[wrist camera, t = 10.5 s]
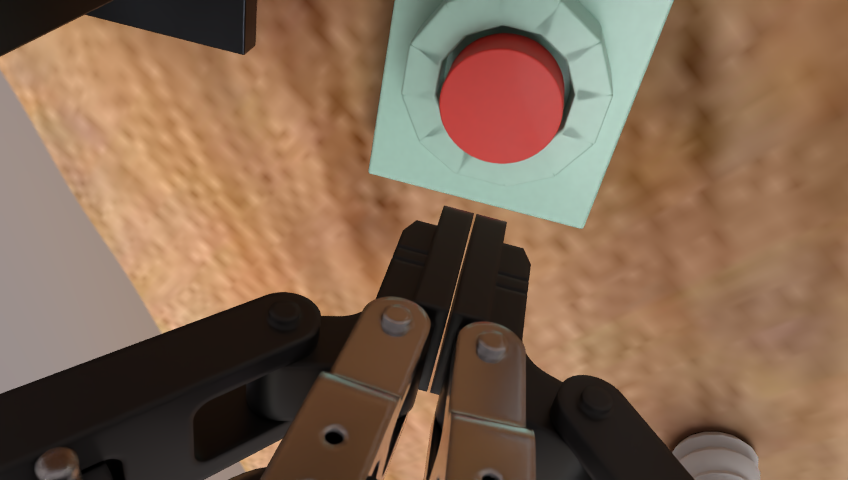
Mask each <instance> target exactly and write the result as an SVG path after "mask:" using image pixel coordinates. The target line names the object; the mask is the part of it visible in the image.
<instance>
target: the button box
mask: <svg viewBox="0 0 848 480" xmlns="http://www.w3.org/2000/svg"><path fill="white" fill-rule="evenodd" d="M673 1H674V0H394V7H393V13H392V20H391V27H390V33H389V40H388V46H387V53H386V59H385V66H384V73H383V79H382V86H381V92H380V99H379V105H378V112H377V119H376V125H375V132H374V138H373V145H372V151H371V158H370V165H369V173H370V174H374V175H378V176H382V177H385V178H389V179H393V180H397V181H401V182H404V183H408V184H412V185H416V186H420V187H424V188H427V189H431V190H435V191H439V192H443V193H446V194H450V195H454V196H458V197H462V198H466V199H469V200H473V201H477V202H481V203H485V204H488V205H492V206H496V207H500V208H504V209H508V210H511V211H515V212H519V213H523V214H527V215H530V216H534V217H538V218H542V219H546V220H550V221H553V222H557V223H561V224H565V225H569V226H572V227H576V228H580V229H582V228H583V227H584V225H585V223H586V220H587V218H588V215H589V213H590V210H591V208H592V205H593V203H594V200H595V198H596V195H597V193H598V190H599V187H600V185H601V182H602V180H603V177H604V175H605V172H606V170H607V167H608V165H609V162H610V160H611V157H612V155H613V152H614V150H615V147H616V145H617V142H618V140H619V137H620V135H621V132H622V129H623V127H624V124H625V122H626V119H627V117H628V114H629V112H630V109H631V107H632V104H633V102H634V99H635V97H636V94H637V92H638V89H639V87H640V84H641V82H642V79H643V77H644V74H645V72H646V69H647V66H648V64H649V61H650V59H651V56H652V54H653V51H654V49H655V46H656V44H657V41H658V39H659V36H660V34H661V31H662V29H663V26H664V24H665V21H666V19H667V16H668V14H669V11H670V9H671V6H672V3H673ZM497 33H513V34H518V35H522V36H525V37H528V38H530V39H532V40H534V41H536V42H538V43H539V44H541V45H542V46H543V47H544V48H546V49H547V50H548V51H549V52H550V53H551V55H552V56H553V57H554V58H555V60H556V61H557V63H558V65H559V67H560V69H561V72H562V75H563V80H564V91H565V92H564V106H563V116H562V120H561V124H560V126H559V129H558V131H557V133H556V135H555V136H554V138H553V139H552V140H551V142H550V143H549V144H548V145H547V146H546V147H545V148H544V149H543V150H541V151H540V152H539V153H537V154H535V155H534V156H532V157H530V158H528V159H525V160H522V161H519V162H515V163H507V164H498V163H490V162H485V161H482V160H479V159H477V158H475V157H472V156H471V155H469V154H467V153H466V152H464V151H463V150H462V149H460V148H459V147H458V146H457V145H456V144H455V143H454V142H453V140H452V139H451V138H450V137H449V135H448V133H447V132H446V130H445V128H444V126H443V123H442V120H441V116H440V110H439V99H440V93H441V89H442V86H443V83H444V81H445V79H446V77H447V74H448V72H449V70H450V68H451V66H452V63H453V62H454V60H455V59H456V57H457V56H458V55H459V53H460V52H461V51H462V50H463V49H464V48H465V47H466V46H468V45H469V44H471V43H472V42H473V41H475V40H477V39H479V38H482V37H484V36H487V35H491V34H497Z"/></svg>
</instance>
